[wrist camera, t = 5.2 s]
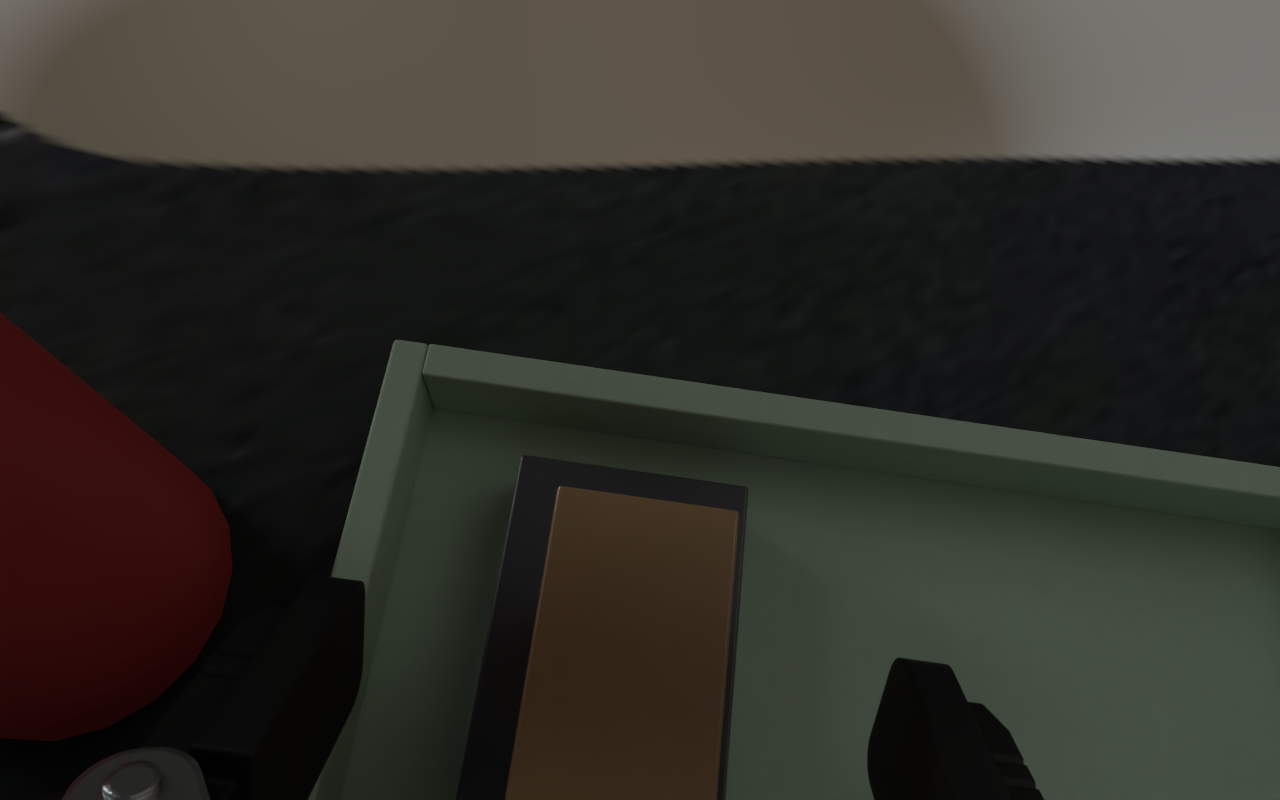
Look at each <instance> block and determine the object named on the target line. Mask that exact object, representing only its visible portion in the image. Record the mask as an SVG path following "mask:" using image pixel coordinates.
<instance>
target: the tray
mask: <svg viewBox="0 0 1280 800" xmlns="http://www.w3.org/2000/svg"><path fill="white" fill-rule="evenodd" d="M522 455H528V456H535V457H542V458H549V459H556V460H563V461H570V462H578V463H585V464H592V465H599V466H606V467H613V468H620V469H627V470H634V471H641V472H648V473H655V474H662V475H669V476H676V477H683V478H690V479H697V480H704V481H711V482H718V483H725V484H732V485H739V486H745V487H748V490H749V491H748V504H747V518H746V531H745V544H744V558H743V571H742V585H741V598H740V611H739V625H738V638H737V652H736V665H735V678H734V692H733V705H732V718H731V732H730V745H729V759H728V772H727V785H726V799H725V800H874V797H873V794H872V790H871V786H870V783H869V778H868V770H867V752H868V743H869V738H870V734H871V731H872V728H873V724H874V721H875V718H876V714H877V711H878V708H879V704H880V701H881V698H882V694H883V691H884V688H885V684H886V681H887V678H888V674H889V671H890V668H891V666H892V663H893V662H894V660H895V659H896V658H906V659H914V660H921V661H928V662H935V663H942V664H948V665H949V666H950V667H951V668H952V670H953V671H954V674H955V676H956V678H957V680H958V682H959V684H960V686H961V689H962V691H963V693H964V695H965V697H966V699H967V701H968V702H973V703H981V704H983V705H984V706H985V707H986V708H987V709H988V710H989V711H990V712H991V713H992V714H993V715H994V716H995V717H996V718H997V719H998V720H999V721H1000V722H1001V723H1002V724H1003V725H1004V726H1005V727H1006V728H1007V729H1008V730H1009V731H1010V733H1011V735H1012V737H1013V739H1014V741H1015V743H1016V745H1017V747H1018V749H1019V751H1020V753H1021V755H1022V757H1023V759H1024V761H1023V763H1024V765H1027V767H1028V769H1029V771H1030V773H1031V775H1032V777H1033V778H1034V780H1035V782H1036V789H1039V790H1040V792H1041V794H1042V796H1043V798H1044V800H1280V467H1274V466H1267V465H1261V464H1254V463H1247V462H1240V461H1233V460H1226V459H1219V458H1212V457H1205V456H1198V455H1192V454H1185V453H1178V452H1171V451H1164V450H1157V449H1150V448H1143V447H1136V446H1130V445H1123V444H1116V443H1109V442H1102V441H1095V440H1088V439H1081V438H1074V437H1068V436H1061V435H1054V434H1047V433H1040V432H1033V431H1026V430H1019V429H1012V428H1006V427H999V426H992V425H985V424H978V423H971V422H964V421H957V420H950V419H944V418H937V417H930V416H923V415H916V414H909V413H902V412H895V411H888V410H882V409H875V408H868V407H861V406H854V405H847V404H840V403H833V402H826V401H820V400H813V399H806V398H799V397H792V396H785V395H778V394H771V393H764V392H758V391H751V390H744V389H737V388H730V387H723V386H716V385H709V384H702V383H695V382H689V381H682V380H675V379H668V378H661V377H654V376H647V375H640V374H633V373H627V372H620V371H613V370H606V369H599V368H592V367H585V366H578V365H571V364H565V363H558V362H551V361H544V360H537V359H530V358H523V357H516V356H509V355H503V354H496V353H489V352H482V351H475V350H468V349H461V348H454V347H447V346H441V345H434V344H430V345H429V347H428V345H426V344H423V343H416V342H409V341H402V340H395V341H394V343H393V346H392V350H391V354H390V357H389V361H388V365H387V369H386V372H385V376H384V380H383V384H382V387H381V391H380V395H379V398H378V402H377V406H376V410H375V413H374V417H373V421H372V425H371V428H370V432H369V436H368V440H367V443H366V447H365V451H364V454H363V458H362V462H361V466H360V469H359V473H358V477H357V481H356V484H355V488H354V492H353V496H352V499H351V503H350V507H349V510H348V514H347V518H346V522H345V525H344V529H343V533H342V537H341V540H340V544H339V548H338V552H337V555H336V559H335V563H334V566H333V570H332V574H331V577H336V578H343V579H351V580H358V581H362V582H363V583H364V585H365V623H364V653H363V671H362V678H361V683H360V687H359V691H358V695H357V698H356V701H355V704H354V706H353V709H352V711H351V713H350V715H349V717H348V719H347V721H346V723H345V725H344V727H343V729H342V731H341V733H340V735H339V737H338V739H337V741H336V743H335V745H334V747H333V749H332V751H331V753H330V756H329V758H328V760H327V762H326V764H325V766H324V768H323V770H322V772H321V774H320V776H319V778H318V780H317V782H316V784H315V786H314V788H313V790H312V792H311V794H310V796H309V798H308V800H456V795H457V790H458V785H459V779H460V774H461V769H462V764H463V758H464V753H465V748H466V742H467V737H468V732H469V727H470V721H471V716H472V711H473V705H474V700H475V695H476V690H477V684H478V679H479V674H480V669H481V663H482V658H483V653H484V647H485V642H486V637H487V632H488V626H489V621H490V616H491V610H492V605H493V600H494V595H495V589H496V584H497V579H498V573H499V568H500V563H501V558H502V552H503V547H504V542H505V536H506V531H507V526H508V521H509V515H510V510H511V505H512V500H513V494H514V489H515V484H516V478H517V473H518V468H519V463H520V458H521V456H522Z"/></svg>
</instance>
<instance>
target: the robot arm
mask: <svg viewBox="0 0 1280 800" xmlns="http://www.w3.org/2000/svg"><path fill="white" fill-rule="evenodd" d="M364 623H365V585H364V583H363V582H362V581H358V580H351V579H343V578H336V577H329V576H322V575H315V574H313V575H310V576H309V577H308V578H307V580H306V581H305V582H304V584H303V585H302V587H301V588H300V590H299V591H298V592H297V594H296V595H295V597H294V598H293V599H292V601H291V602H290V604H289V605H288V606H285V605H278V604H271V603H267V604H266V605H264V606H262V607H261V608H259V609H258V610H256V611H254V612H253V613H251V614H250V615H248V616H246V617H245V618H243V619H242V620H240V621H239V622H237V623H236V624H235V626H234V627H233V628H232V630H231V631H230V632H229V633H228V635H227V636H226V637H225V639H224V640H223V641H222V642H221V644H220V645H219V646H218V650H217V652H214V653H213V654H212V655H211V657H210V658H209V659H208V660H207V662H206V663H205V664H204V666H203V667H202V671H201V673H199V672H198V673H197V675H196V676H195V677H194V678H193V680H192V681H191V682H190V684H189V685H188V686H187V687H186V689H185V690H184V691H183V693H182V694H181V695H180V696H179V698H178V699H177V700H176V702H175V703H174V704H173V705H172V707H171V708H170V709H169V711H168V712H167V713H166V714H165V716H164V717H163V718H162V720H161V721H160V722H159V723H158V725H157V726H156V727H155V729H154V730H153V731H152V732H151V734H150V735H149V736H148V738H147V739H146V740H145V741H144V743H143V744H142V745H141V747H140V748H135V749H130V750H126V751H123V752H120V753H117V754H114V755H112V756H110V757H107V758H105V759H103V760H101V761H99V762H98V763H96V764H94V765H93V766H91V767H90V768H88V769H87V770H86V771H84V772H83V773H82V774H81V775H80V776H79V777H78V778H77V779H76V780H75V781H74V782H73V783H72V784H71V785H70V787H69V788H68V789H67V791H64V792H60V793H54V794H48V795H40V796H32V797H24V798H15V799H7V800H308V798H309V796H310V794H311V792H312V790H313V788H314V786H315V784H316V782H317V780H318V778H319V776H320V774H321V772H322V770H323V768H324V766H325V764H326V762H327V760H328V758H329V756H330V753H331V751H332V749H333V747H334V745H335V743H336V741H337V739H338V737H339V735H340V733H341V731H342V729H343V727H344V725H345V723H346V721H347V719H348V717H349V715H350V713H351V711H352V709H353V706H354V704H355V701H356V698H357V695H358V691H359V687H360V683H361V678H362V671H363V653H364ZM1023 761H1024V759H1023V757H1022V755H1021V753H1020V751H1019V749H1018V747H1017V745H1016V743H1015V741H1014V739H1013V737H1012V735H1011V733H1010V731H1009V730H1008V729H1007V728H1006V727H1005V726H1004V725H1003V724H1002V723H1001V722H1000V721H999V720H998V719H997V718H996V717H995V716H994V715H993V714H992V713H991V712H990V711H989V710H988V709H987V708H986V707H985V706H984V705H983V704H981V703H973V702H968V701H967V699H966V697H965V695H964V693H963V691H962V689H961V686H960V684H959V682H958V680H957V678H956V676H955V674H954V671H953V670H952V668H951V667H950V666H949V665H948V664H942V663H935V662H928V661H921V660H914V659H906V658H896V659H895V660H894V662H893V663H892V666H891V668H890V671H889V674H888V678H887V681H886V684H885V688H884V691H883V694H882V698H881V701H880V704H879V708H878V711H877V714H876V718H875V721H874V724H873V728H872V731H871V734H870V738H869V743H868V752H867V770H868V778H869V783H870V786H871V790H872V794H873V797H874V800H1044V798H1043V796H1042V794H1041V792H1040V790H1039V789H1036V782H1035V780H1034V778H1033V777H1032V775H1031V773H1030V771H1029V769H1028V767H1027V765H1024V763H1023Z"/></svg>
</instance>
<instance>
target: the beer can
mask: <svg viewBox="0 0 1280 800" xmlns="http://www.w3.org/2000/svg"><path fill="white" fill-rule="evenodd" d="M232 571H233V565H232V554H231V542H230V530H229V525H228V523H227V521H226V519H225V517H224V515H223V512H222V510H221V508H220V506H219V504H218V502H217V500H216V498H215V496H214V494H213V492H212V490H211V489H210V488H209V487H208V486H207V485H206V484H205V483H204V482H203V481H202V480H201V479H200V478H198V477H197V476H196V475H195V474H194V473H193V472H192V471H191V470H190V469H189V468H188V467H187V466H186V465H184V464H183V463H182V462H181V461H180V460H179V459H177V458H176V457H175V456H174V455H173V454H171V453H170V452H169V451H168V450H167V449H165V448H164V447H163V446H162V445H160V444H159V443H158V442H157V441H156V440H154V439H153V438H152V437H151V436H150V435H148V434H147V433H146V432H145V431H143V430H142V429H141V428H140V427H139V426H137V425H136V424H135V423H134V422H133V421H131V420H130V419H129V418H128V417H126V416H125V415H124V414H123V413H122V412H120V411H119V410H118V409H117V408H116V407H114V406H113V405H112V404H111V403H109V402H108V401H107V400H106V399H105V398H103V397H102V396H101V395H100V394H99V393H97V392H96V391H95V390H94V389H92V388H91V387H90V386H89V385H88V384H86V383H85V382H84V381H83V380H82V379H80V378H79V377H78V376H77V375H75V374H74V373H73V372H72V371H71V370H69V369H68V368H67V367H66V366H65V365H63V364H62V363H61V362H60V361H58V360H57V359H56V358H55V357H54V356H52V355H51V354H50V353H49V352H48V351H46V350H45V349H44V348H43V347H41V346H40V345H39V344H38V343H37V342H35V341H34V340H33V339H32V338H31V337H29V336H28V335H27V334H26V333H24V332H23V331H22V330H21V329H20V328H18V327H17V326H16V325H15V324H14V323H12V322H11V321H10V320H9V319H7V318H6V317H5V316H4V315H3V314H1V313H0V738H9V739H25V740H41V741H56V740H60V739H64V738H68V737H72V736H76V735H80V734H84V733H88V732H92V731H96V730H100V729H104V728H107V727H109V726H111V725H112V724H114V723H116V722H118V721H119V720H121V719H123V718H125V717H126V716H128V715H130V714H132V713H134V712H135V711H137V710H139V709H141V708H142V707H144V706H146V705H148V704H149V703H151V702H153V701H155V700H156V699H157V698H158V697H159V696H160V695H161V694H162V693H163V692H164V691H165V690H166V689H167V688H168V687H169V686H170V685H171V684H172V683H173V682H174V681H175V680H176V679H177V678H178V677H179V676H180V675H181V674H182V673H184V672H185V671H186V670H187V669H188V668H189V667H190V666H191V665H192V664H193V663H194V662H195V660H196V659H197V657H198V655H199V654H200V652H201V650H202V648H203V647H204V645H205V643H206V642H207V640H208V638H209V637H210V635H211V633H212V631H213V630H214V628H215V626H216V625H217V623H218V621H219V619H220V618H221V616H222V612H223V608H224V604H225V600H226V596H227V592H228V587H229V583H230V579H231V575H232Z"/></svg>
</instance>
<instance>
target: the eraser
mask: <svg viewBox="0 0 1280 800" xmlns="http://www.w3.org/2000/svg"><path fill="white" fill-rule="evenodd" d="M748 491H749V490H748V487H745V486H739V485H732V484H725V483H718V482H711V481H704V480H697V479H690V478H683V477H676V476H669V475H662V474H655V473H648V472H641V471H634V470H627V469H620V468H613V467H606V466H599V465H592V464H585V463H578V462H570V461H563V460H556V459H549V458H542V457H535V456H528V455H522V456H521V458H520V463H519V468H518V473H517V478H516V484H515V489H514V494H513V500H512V505H511V510H510V515H509V521H508V526H507V531H506V536H505V542H504V547H503V552H502V558H501V563H500V568H499V573H498V579H497V584H496V589H495V595H494V600H493V605H492V610H491V616H490V621H489V626H488V632H487V637H486V642H485V647H484V653H483V658H482V663H481V669H480V674H479V679H478V684H477V690H476V695H475V700H474V705H473V711H472V716H471V721H470V727H469V732H468V737H467V742H466V748H465V753H464V758H463V764H462V769H461V774H460V779H459V785H458V790H457V795H456V800H725V799H726V785H727V772H728V759H729V745H730V732H731V718H732V705H733V692H734V678H735V665H736V652H737V638H738V625H739V611H740V598H741V585H742V571H743V558H744V544H745V531H746V518H747V504H748Z"/></svg>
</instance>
